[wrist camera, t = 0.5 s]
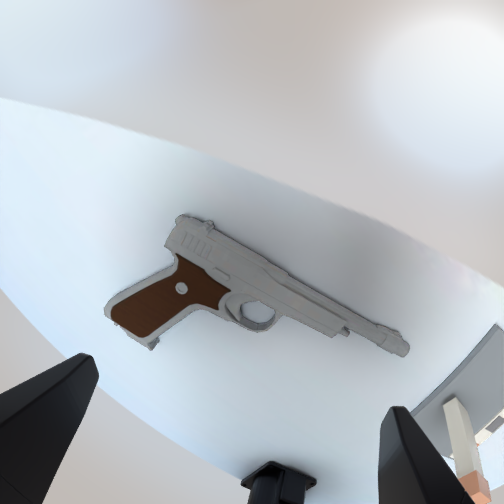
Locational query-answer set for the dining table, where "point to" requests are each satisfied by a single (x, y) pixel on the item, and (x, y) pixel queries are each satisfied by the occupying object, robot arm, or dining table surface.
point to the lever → (466, 452)
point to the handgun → (229, 292)
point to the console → (469, 395)
